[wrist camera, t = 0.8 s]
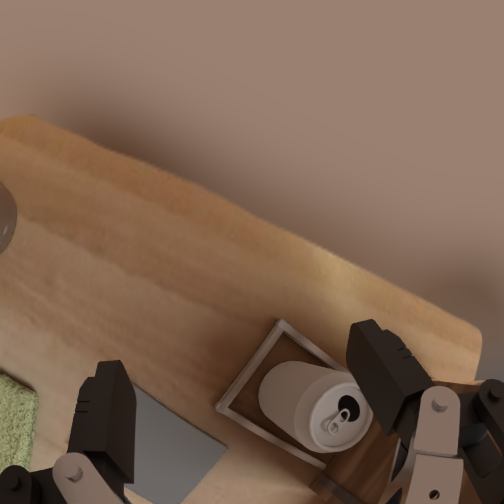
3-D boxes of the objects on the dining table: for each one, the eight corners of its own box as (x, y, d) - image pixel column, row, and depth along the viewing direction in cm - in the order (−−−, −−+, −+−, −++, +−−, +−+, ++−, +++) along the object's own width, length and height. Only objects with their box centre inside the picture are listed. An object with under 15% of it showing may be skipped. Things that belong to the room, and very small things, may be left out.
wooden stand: (196, 427, 30) (292, 609, 6) (293, 297, 36) (505, 251, 12) (314, 489, 32) (461, 593, 8) (390, 376, 38) (571, 394, 13)
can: (328, 393, 35) (393, 414, 24) (280, 434, 33) (332, 475, 21) (294, 346, 35) (355, 355, 24) (242, 388, 33) (284, 419, 21)
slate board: (73, 447, 26) (71, 450, 25) (126, 377, 29) (125, 378, 29) (171, 509, 27) (171, 512, 26) (226, 445, 31) (228, 448, 30)
